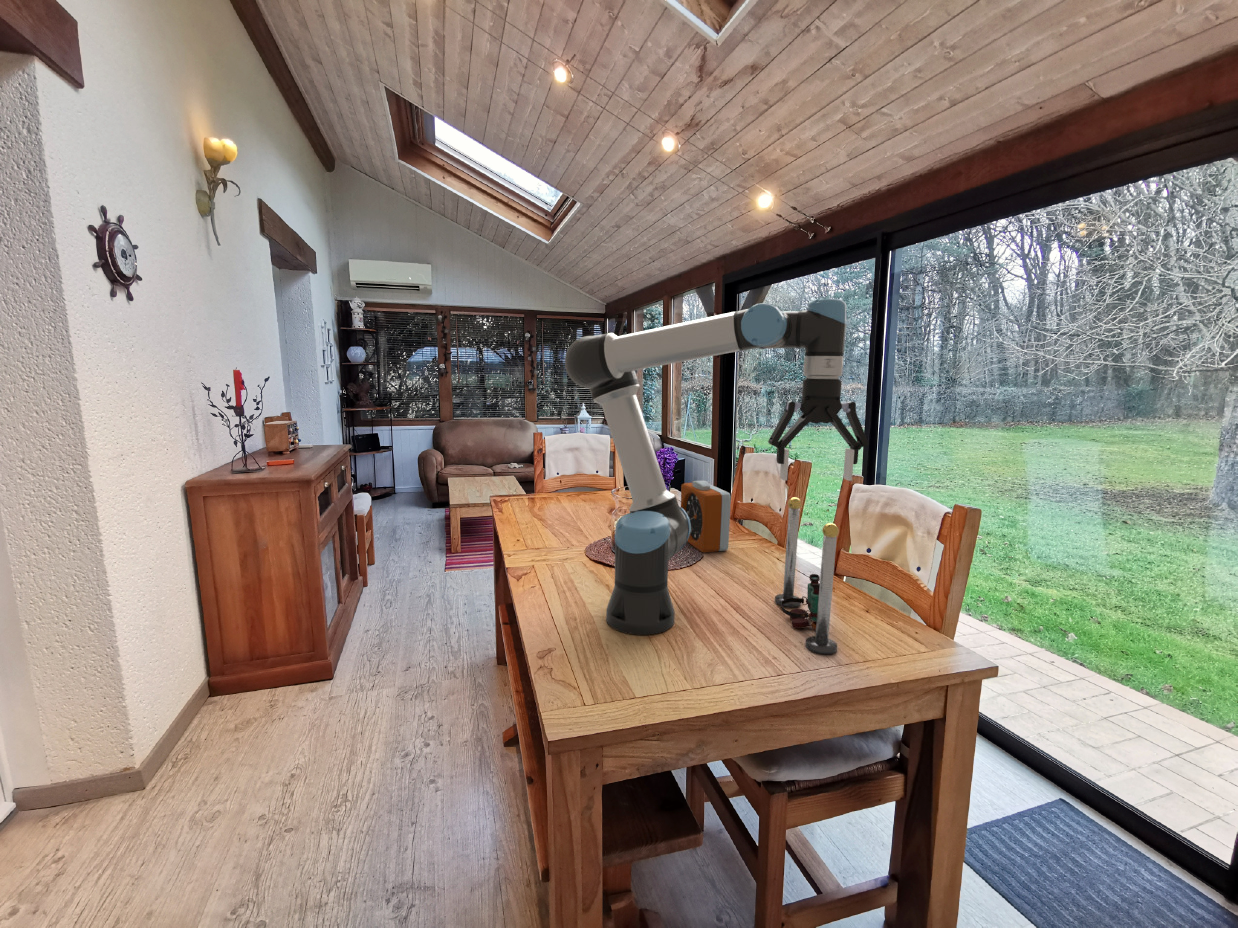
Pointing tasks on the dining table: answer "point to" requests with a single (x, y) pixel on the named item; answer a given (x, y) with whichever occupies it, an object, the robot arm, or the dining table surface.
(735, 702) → the dining table surface
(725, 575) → the dining table surface
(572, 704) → the dining table surface
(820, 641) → the post near
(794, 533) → the post far
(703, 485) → the alarm clock
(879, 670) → the dining table surface
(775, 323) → the robot arm
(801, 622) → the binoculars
